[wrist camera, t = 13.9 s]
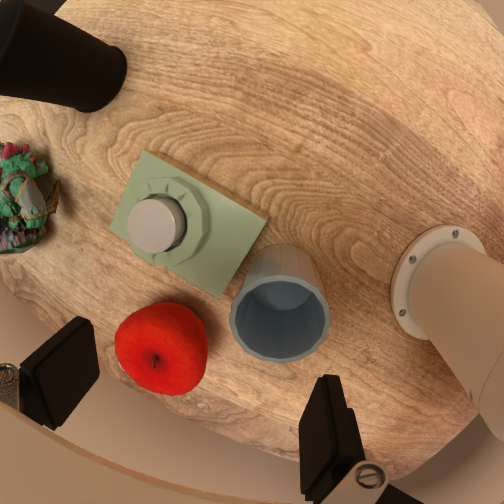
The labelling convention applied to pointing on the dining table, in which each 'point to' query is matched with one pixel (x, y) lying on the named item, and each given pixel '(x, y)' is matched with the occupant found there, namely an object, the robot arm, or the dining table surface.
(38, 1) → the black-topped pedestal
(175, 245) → the push button box
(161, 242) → the round grey push button
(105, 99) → the aerosol can
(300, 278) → the cup
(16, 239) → the figurine
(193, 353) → the apple
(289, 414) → the dining table surface
